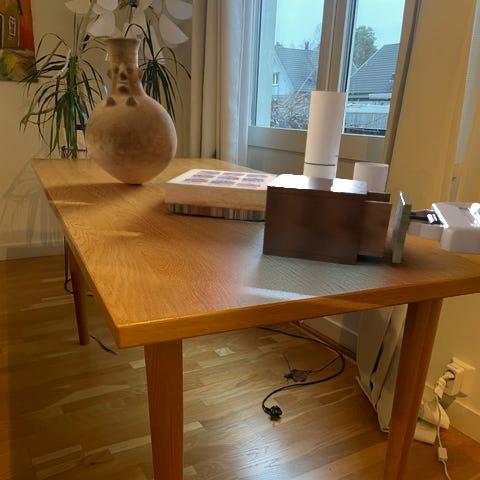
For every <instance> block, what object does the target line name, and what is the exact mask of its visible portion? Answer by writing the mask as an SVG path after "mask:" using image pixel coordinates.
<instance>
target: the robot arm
mask: <svg viewBox="0 0 480 480" xmlns="http://www.w3.org/2000/svg"><path fill="white" fill-rule="evenodd" d="M429 214H435V215H436V217H437V219H438V220H439V222H440V225H437V224H434V225H430V224H421V222H427V221H424V220H414V219H409V220H410V221H420V222H409V223H408V228H407V233H406V234H407V235H408V236H412V237H420V238H422V239H426V240H430V241H434V242H435V241H436V242H438V244H439V246H440V248H441V250H442V251H444V252H448V253H451V254H462V255H476V256H480V203H479V202H465V201H464V202H462V201H441V202H434V203H432V204H431V208H430V209H426V208H425V209H411V213H410V215H416V216H426V217H427V216H428V215H429Z"/></svg>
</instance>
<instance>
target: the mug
mask: <svg viewBox="0 0 480 480" xmlns="http://www.w3.org/2000/svg"><path fill="white" fill-rule="evenodd" d="M389 169H390V165H389V164H386V163H379V162H370V161H369V162H368V161H360V162H359V161H358V162H355V163H354V169H353V175H352V176H353V177H352V181H364V182H368V188H367V191H373V192H384V193H385V190H386V186H387V179H388V175H389Z"/></svg>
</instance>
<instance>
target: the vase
mask: <svg viewBox="0 0 480 480" xmlns="http://www.w3.org/2000/svg"><path fill="white" fill-rule="evenodd" d="M102 41H103V43H104V45H105V47H106V50H107V53H108V57H109V62H110V66H109V68H108V69H107V71H106V75H107V77H108V79H109V80H110V81H111V88H110V91H109V94H108V95H107V96H106V97H105V98H103V99H102V100H100V101H99V102H98V103H97V104H96V105H95V107H94V108H93V109H92V111H91V112H90V114H89V116H88V119H87V121H86V124H85V129H84V142H85V148H86V151H87V153H88V155H89V157H90V159H92V161H93V162H94V163H95V164H96V165H97V166H98V167H99V168H100V169H101V170H103V171H104V172H105V173H107V174H108V175H109V176H111V177H112V178H114V179H116V180H118V181H119V182H122V183H125V184H129V185H139V184H140V185H141V184H145V183H148V182H150V181H151V180H153V179H154V178H156V177H158V176H159V175H160V174H161V173H163V171H165V170H166V169H167V168H168V167H169V166H170V164H171V163H172V162H173V160H174V158H175V156H176V153H177V148H178V136H177V132H176V128H175V124H174V122H173V119H172V117H171V116H170V114H169V113H168V111H167V110H166V109H165V107H164V106H163V105H162V104H160V102H158V101H157V100H155V99H154V98H152V97H150V96H149V95H148V94H147V93H146V92H145V90H144V86H143V84H142V79H143V77H144V72H143V70H142V69H141V68H139V49H140V46H141V44H142V40H141V39H140V38H136V37H124V36H112V37H111V36H110V37H106V38H103V39H102Z"/></svg>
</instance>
